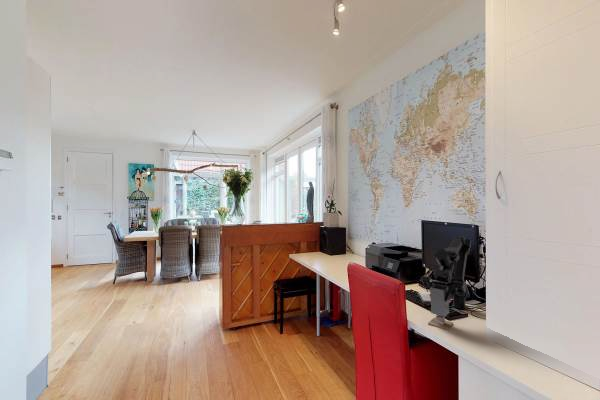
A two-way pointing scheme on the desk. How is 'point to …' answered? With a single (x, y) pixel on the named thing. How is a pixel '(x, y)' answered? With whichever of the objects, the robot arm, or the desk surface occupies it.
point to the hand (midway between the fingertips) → (438, 299)
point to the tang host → (440, 322)
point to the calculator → (424, 297)
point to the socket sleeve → (439, 300)
